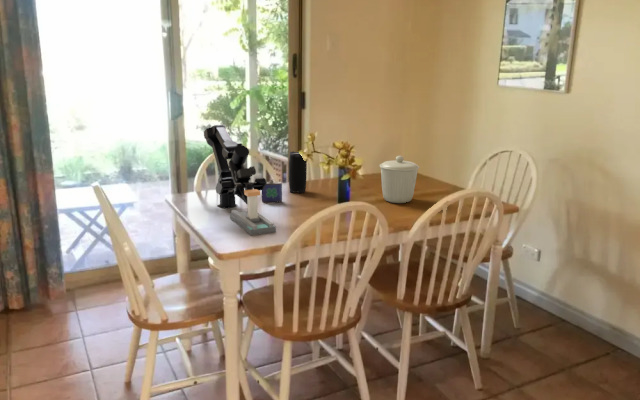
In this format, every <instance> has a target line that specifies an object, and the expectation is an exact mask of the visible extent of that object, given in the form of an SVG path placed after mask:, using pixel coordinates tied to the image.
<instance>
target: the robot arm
mask: <svg viewBox="0 0 640 400" xmlns="http://www.w3.org/2000/svg"><path fill="white" fill-rule="evenodd" d="M226 128H227V127H226V126H225V124H214V125H212V126H210V127H208V128H206V129H204V131H203V136H204V139H205V140H206V143H207V145H209V147H211V148H212V150H213V151H212V152H213V154H214V159H215V162H216V166H217V169H218V172H219V176H218V179H217V182H216V186H215V192H216V194H218V195H219V204H217V207H220V208H223V209H231V208H235V207H237V206H239V205H238V204H236V196H237V197H238V198H240V199H241V200H242V201H243V202H244V203H245V204H246V205H247V196H246V195H245V194H244V190H252V189H257V190H259V191H260V192H261V191H262V190H263V189H264V188H265V186H266V183H267V182H268V181H267V180H266V178H265V177H258V178H255V180H254V181H251V179H252V177H253V176H254V175H256V174H257V170H256V168H255V166H254V165H253V166H250V167H248V168H245V165H244V164H245V163H246V162H247V160H248V157H249V155H250V150H249V148H248V147H246V146H245V145H243V144H242V143H238V142H236V141H234V140H232V138H231V136H230V135H229V132H228V131H227V129H226ZM228 160H229V161H228ZM250 181H251V182H250Z"/></svg>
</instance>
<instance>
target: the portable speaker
mask: <svg viewBox="0 0 640 400" xmlns="http://www.w3.org/2000/svg"><path fill="white" fill-rule="evenodd" d="M299 152H300V151H295V150H294V151H290V152H289V159H288V186H289V193H291V194H294V193H299V194H304V193H306V190H307V189H306V188H307V175H308V173H307V171H308V170H307V167H308V164H307V160H306V161H304V160H303V158H302V156H301V155H300V154H299Z"/></svg>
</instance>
